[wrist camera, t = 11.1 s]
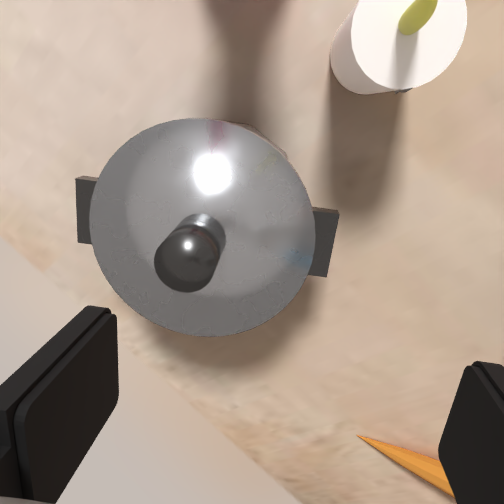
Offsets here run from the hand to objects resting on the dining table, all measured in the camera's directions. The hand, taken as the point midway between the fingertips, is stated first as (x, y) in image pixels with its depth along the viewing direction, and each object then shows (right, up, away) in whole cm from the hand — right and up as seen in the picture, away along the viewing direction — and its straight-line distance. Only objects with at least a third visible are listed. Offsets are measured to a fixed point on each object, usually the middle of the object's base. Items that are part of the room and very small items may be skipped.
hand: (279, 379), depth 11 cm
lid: (-4, +5, +20) cm, 21 cm away
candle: (+9, +20, +22) cm, 30 cm away
